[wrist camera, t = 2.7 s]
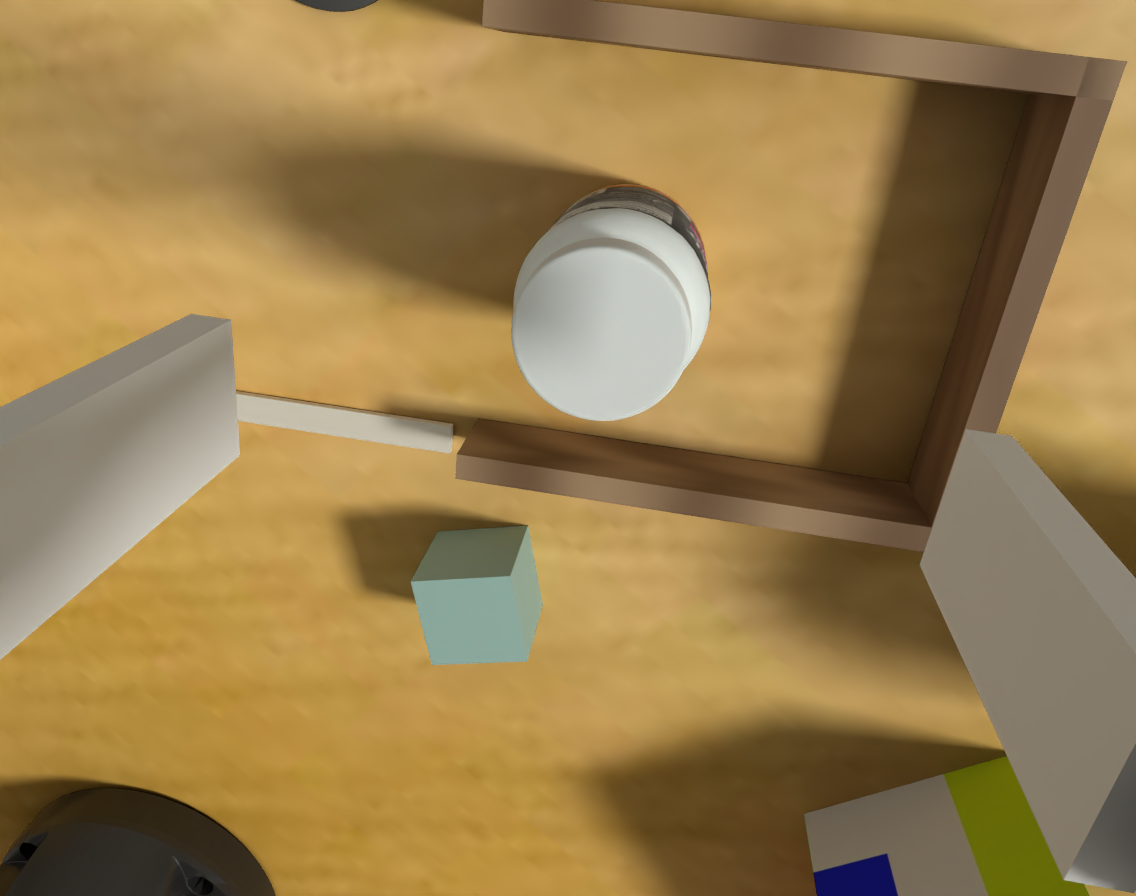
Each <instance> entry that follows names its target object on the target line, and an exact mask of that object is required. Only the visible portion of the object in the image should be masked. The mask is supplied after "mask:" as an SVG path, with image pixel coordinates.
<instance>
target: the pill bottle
mask: <svg viewBox="0 0 1136 896" xmlns="http://www.w3.org/2000/svg"><path fill="white" fill-rule="evenodd" d="M710 309H711V291H710V285H709V281H708V272H707V261H706V256H705V250H704V245H703V242H702V239H701V236H700V233H699V231H698V229H697V227H696V225H695V223H694V221H693V220H692V218H691V217H690V216H689V214H688V213H687V212H686V211H685V209H684V208H683V207H682V206H681V205H679V204H678V203H677V202H676V201H675V200H674V199H672V198H671V197H669V196H667V195H666V194H664V193H662V192H660V191H658V190H656V189H653V188H650V187H647V186H642V185H635V184H619V185H612V186H607V187H604V188H601V189H598V190H595V191H593V192H591V193H589V194H587V195H585V196H584V197H582V198H581V199H579V200H578V201H576V202H575V203H574V204H573V205H572V206H570V207H569V208H568V209H567V210H566V211H565V212H564V213H563V215H562V216H561V217H560V218H558V220H557V221H556V222H555V223H554V224H553V226H552V227H551V228H550V229H549V230H548V231H547V232H546V233H545V234H544V235H543V236H542V237H541V238H540V239H539V240H538V241H537V242H536V244H535V245H534V246H533V248H532V249H531V250H530V252H529V253H528V255H527V256H526V258H525V260H524V262H523V264H522V266H521V269H520V272H519V275H518V278H517V282H516V286H515V291H514V301H513V310H514V313H513V318H512V328H511V335H512V345H513V350H514V354H515V358H516V361H517V363H518V366H519V368H520V370H521V372H522V374H523V376H524V377H525V379H526V381H527V382H528V383H529V385H530V386H531V387H532V388H533V390H534V391H535V392H536V393H537V394H538V395H539V396H540V397H541V398H542V399H544V400H545V401H546V402H547V403H549V404H550V405H552V406H553V407H555V408H557V409H558V410H560V411H562V412H564V413H567V414H569V415H572V416H575V417H578V418H582V419H587V420H594V421H613V420H619V419H624V418H627V417H631V416H633V415H636V414H639V413H641V412H643V411H645V410H647V409H649V408H650V407H652V406H653V405H655V404H656V403H658V402H659V401H660V400H661V399H662V398H663V397H664V396H666V395H667V394H668V393H669V391H670V390H671V389H672V388H673V387H674V385H675V384H676V382H677V381H678V379H679V377H680V376H681V374H682V372H683V370H684V369H685V368H686V367H687V366H688V364H689V363H690V362H691V360H692V359H693V358H694V356H695V354H696V353H697V351H698V349H699V347H700V345H701V343H702V341H703V338H704V336H705V333H706V330H707V326H708V323H709V317H710Z"/></svg>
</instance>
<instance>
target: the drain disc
mask: <svg viewBox="0 0 1136 896" xmlns="http://www.w3.org/2000/svg"><path fill="white" fill-rule="evenodd" d="M296 1H298V2H300V3H302V4H304V5H307V6H310V7H313V8H316V9H321V10H326V11H334V12H345V11H353V10H357V9H361V8H364V7H366V6H368V5H371V4H373V3H375V2H376V1H378V0H296Z"/></svg>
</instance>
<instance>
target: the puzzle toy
mask: <svg viewBox="0 0 1136 896" xmlns="http://www.w3.org/2000/svg"><path fill="white" fill-rule="evenodd" d="M804 817H805V824H806V830H807V836H808V842H809V849H810V855H811V861H812V867H813V874H814V880H815V886H816V892H817V896H1089V894H1088V892H1087V890H1086V888H1085V886H1084V884H1083V883H1077V882H1072V881H1067V880H1063V877H1062V875H1061V873H1060V871H1059V869H1058V866H1057V864H1056V862H1055V860H1054V858H1053V855H1052V853H1051V851H1050V849H1049V847H1048V845H1047V842H1046V840H1045V838H1044V836H1043V834H1042V831H1041V829H1040V827H1039V825H1038V823H1037V821H1036V818H1035V816H1034V814H1033V812H1032V810H1031V807H1030V805H1029V803H1028V801H1027V799H1026V796H1025V794H1024V792H1023V790H1022V788H1021V786H1020V783H1019V781H1018V779H1017V777H1016V775H1015V772H1014V770H1013V768H1012V766H1011V764H1010V761H1009V759H1008V757H1007V756H1005V757H1001V758H998V759H994V760H991V761H987V762H984V763H980V764H977V765H973V766H970V767H966V768H963V769H959V770H956V771H952V772H949V773H945V774H942V775H938V776H935V777H931V778H928V779H924V780H921V781H917V782H914V783H910V784H907V785H903V786H900V787H896V788H893V789H889V790H886V791H882V792H879V793H875V794H872V795H868V796H865V797H861V798H858V799H854V800H851V801H847V802H844V803H840V804H837V805H833V806H830V807H826V808H823V809H819V810H816V811H812V812H809V813H805V814H804Z"/></svg>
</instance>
